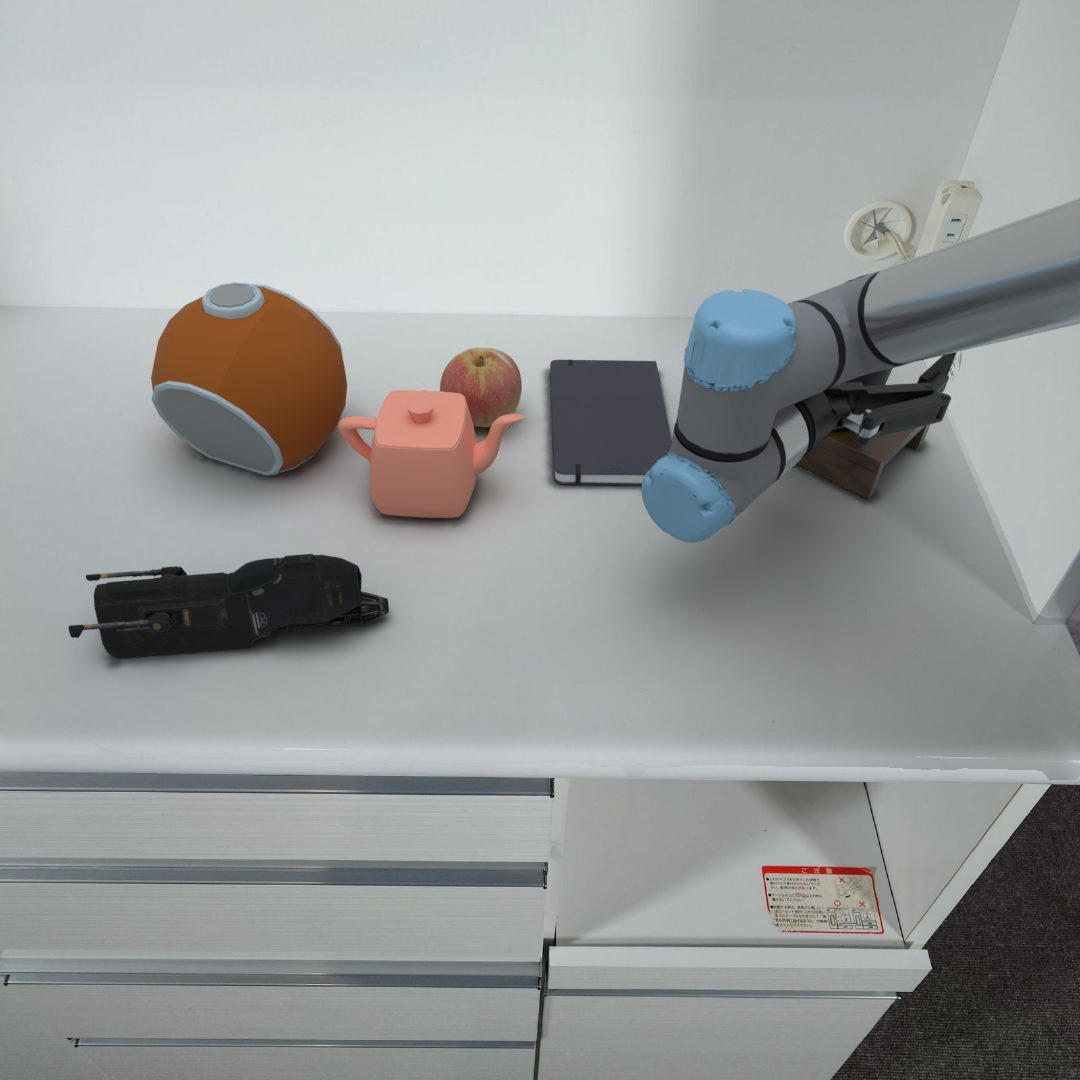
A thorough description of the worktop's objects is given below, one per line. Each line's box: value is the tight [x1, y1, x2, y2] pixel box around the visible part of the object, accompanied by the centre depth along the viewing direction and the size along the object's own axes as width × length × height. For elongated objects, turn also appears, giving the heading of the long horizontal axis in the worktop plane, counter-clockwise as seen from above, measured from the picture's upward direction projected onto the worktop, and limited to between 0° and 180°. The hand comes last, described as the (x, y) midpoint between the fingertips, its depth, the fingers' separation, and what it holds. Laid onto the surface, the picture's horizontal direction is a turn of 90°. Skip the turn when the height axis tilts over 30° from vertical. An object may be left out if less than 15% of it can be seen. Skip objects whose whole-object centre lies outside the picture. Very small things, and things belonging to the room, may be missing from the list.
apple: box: [439, 347, 523, 428], centre depth 101 cm, size 9×9×8 cm
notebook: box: [549, 359, 672, 486], centre depth 103 cm, size 13×2×21 cm
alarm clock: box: [150, 281, 348, 476], centre depth 94 cm, size 19×18×17 cm
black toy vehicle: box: [68, 553, 390, 659], centre depth 78 cm, size 7×25×8 cm, turn 96°
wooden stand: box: [796, 424, 931, 500], centre depth 100 cm, size 15×13×7 cm
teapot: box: [337, 389, 524, 519], centre depth 91 cm, size 12×18×10 cm, turn 88°
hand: (885, 337), depth 94 cm, fingers open, 13 cm apart
